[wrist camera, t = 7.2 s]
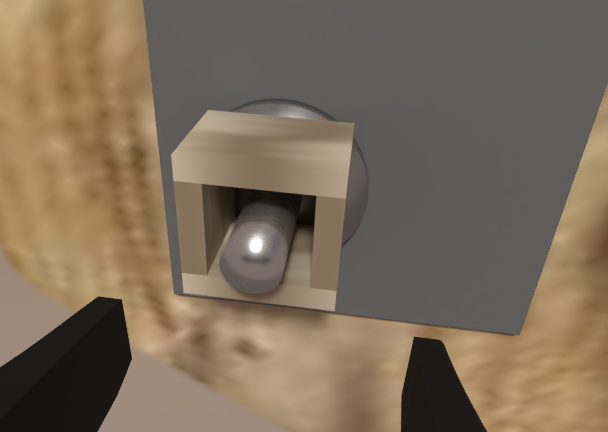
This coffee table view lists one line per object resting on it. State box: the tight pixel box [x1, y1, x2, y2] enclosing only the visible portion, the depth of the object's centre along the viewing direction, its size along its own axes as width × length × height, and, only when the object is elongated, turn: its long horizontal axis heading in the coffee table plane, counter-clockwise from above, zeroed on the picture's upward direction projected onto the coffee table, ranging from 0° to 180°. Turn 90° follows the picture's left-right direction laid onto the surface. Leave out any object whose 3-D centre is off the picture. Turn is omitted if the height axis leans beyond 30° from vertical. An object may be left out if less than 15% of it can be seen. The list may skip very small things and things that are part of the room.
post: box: [219, 99, 369, 294], centre depth 19 cm, size 7×7×6 cm
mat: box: [143, 0, 608, 335], centre depth 18 cm, size 16×26×1 cm, turn 177°
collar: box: [171, 110, 355, 311], centre depth 19 cm, size 5×5×4 cm
